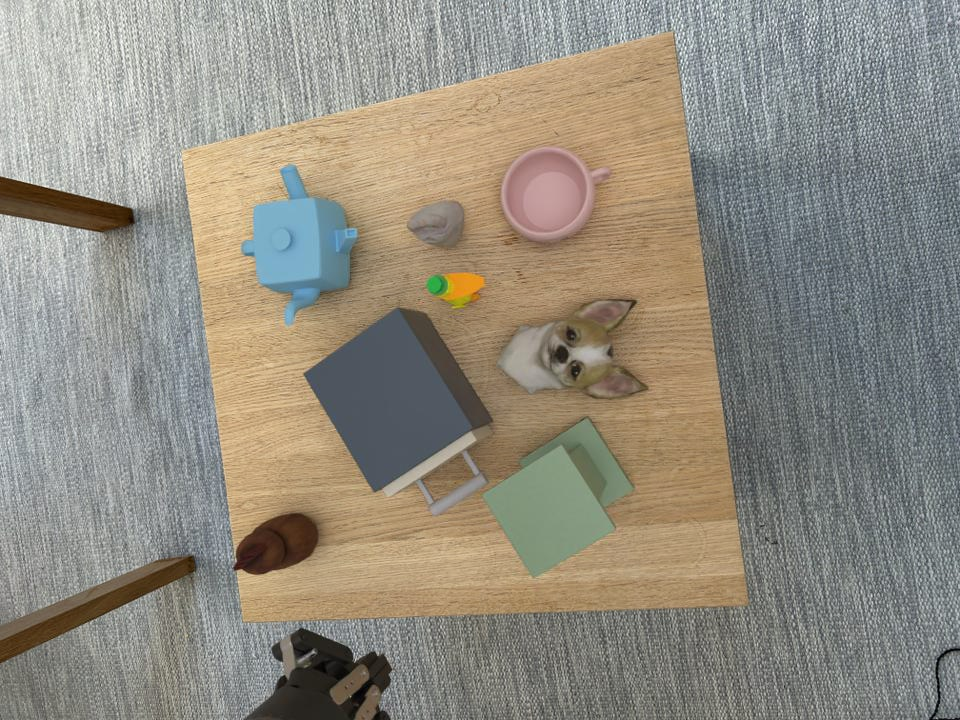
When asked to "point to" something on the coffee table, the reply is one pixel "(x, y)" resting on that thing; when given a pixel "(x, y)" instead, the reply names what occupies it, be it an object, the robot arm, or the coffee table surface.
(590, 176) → the mug
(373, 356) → the cabinet
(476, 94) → the coffee table surface
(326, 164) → the coffee table surface
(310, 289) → the teapot
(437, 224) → the fossil
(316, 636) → the robot arm
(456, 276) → the toy figure
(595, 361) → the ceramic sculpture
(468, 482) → the drawer
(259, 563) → the wooden figurine
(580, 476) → the stand
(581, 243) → the coffee table surface
